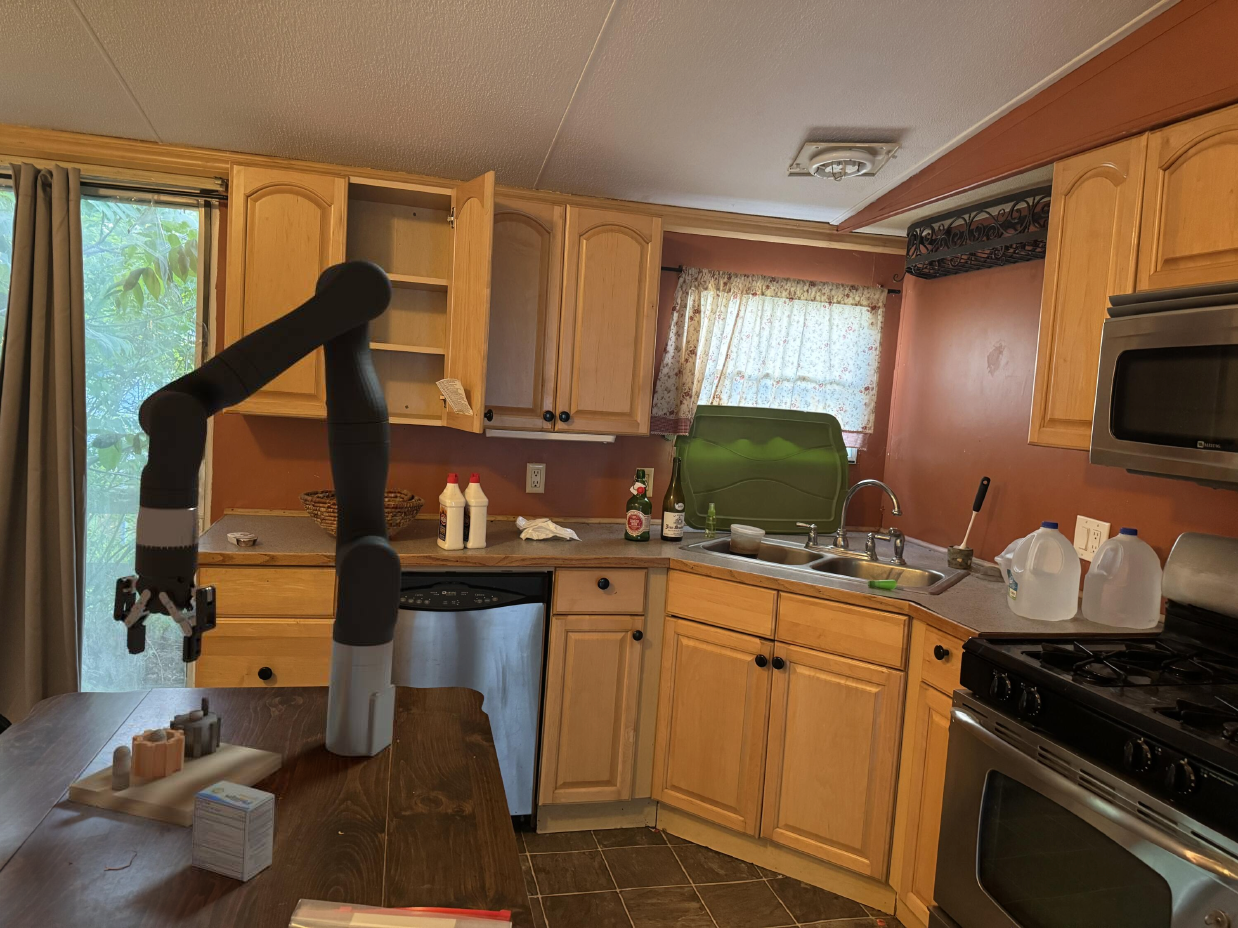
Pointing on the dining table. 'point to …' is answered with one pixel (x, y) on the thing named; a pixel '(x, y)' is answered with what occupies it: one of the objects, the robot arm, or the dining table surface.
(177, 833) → the dining table surface
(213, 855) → the medicine box
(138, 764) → the loose gear
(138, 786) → the gear board
